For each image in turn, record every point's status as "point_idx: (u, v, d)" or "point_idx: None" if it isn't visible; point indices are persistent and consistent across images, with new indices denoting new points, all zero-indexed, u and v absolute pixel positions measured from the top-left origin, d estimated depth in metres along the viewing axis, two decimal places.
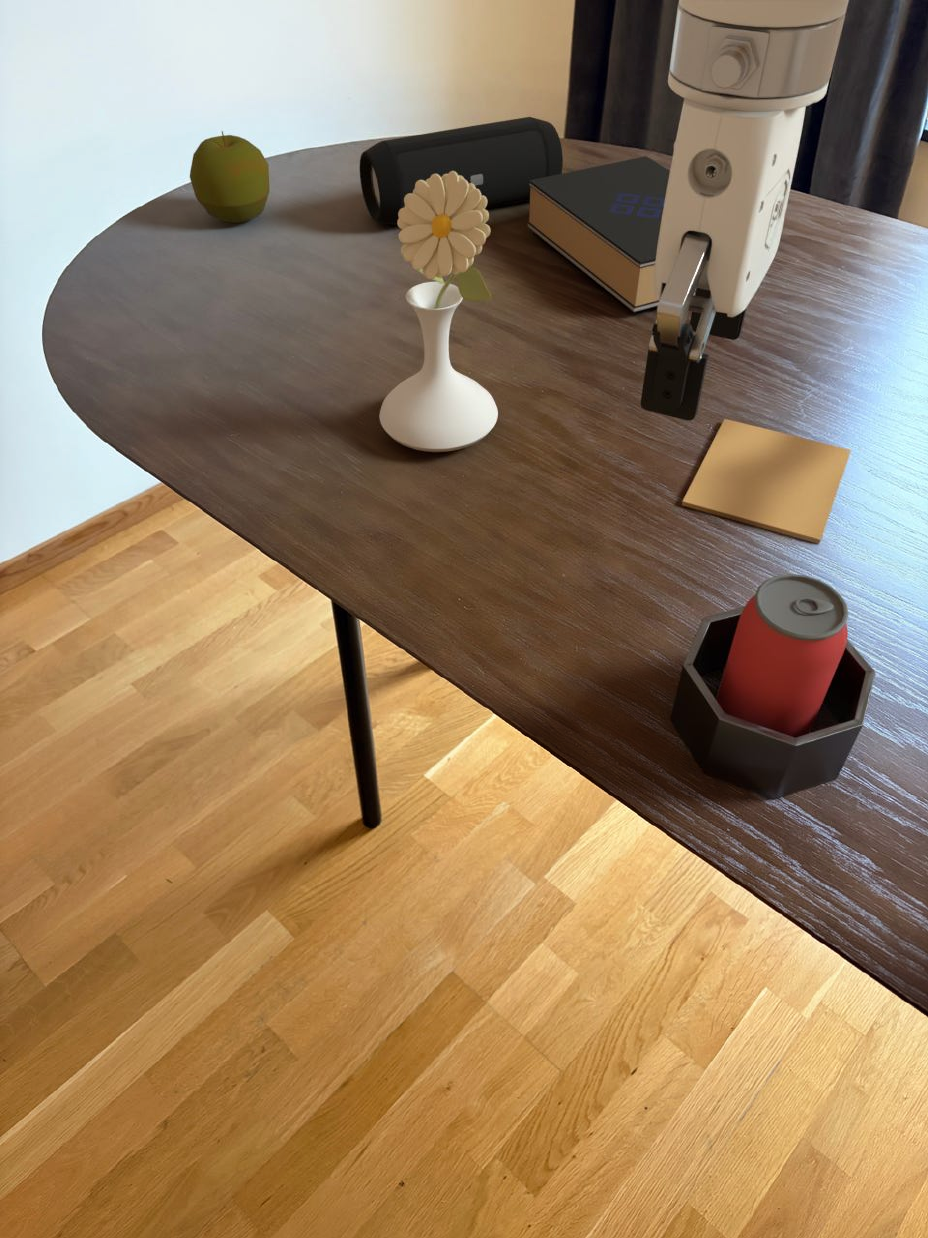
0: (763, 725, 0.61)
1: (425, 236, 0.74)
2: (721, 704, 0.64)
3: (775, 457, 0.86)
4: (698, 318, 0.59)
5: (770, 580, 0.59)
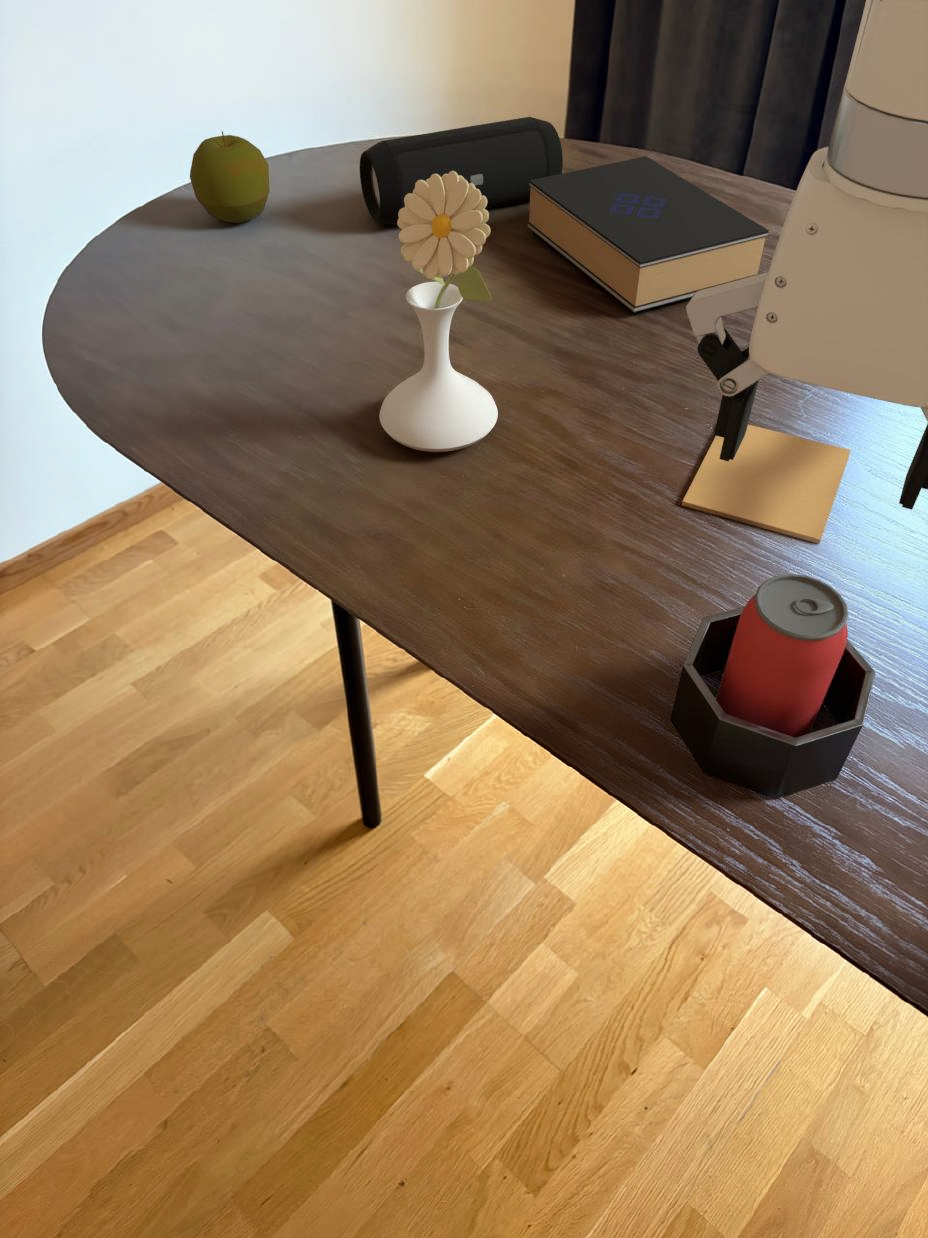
0: (763, 725, 0.61)
1: (425, 236, 0.74)
2: (721, 704, 0.64)
3: (775, 457, 0.86)
4: (737, 444, 0.52)
5: (770, 580, 0.59)
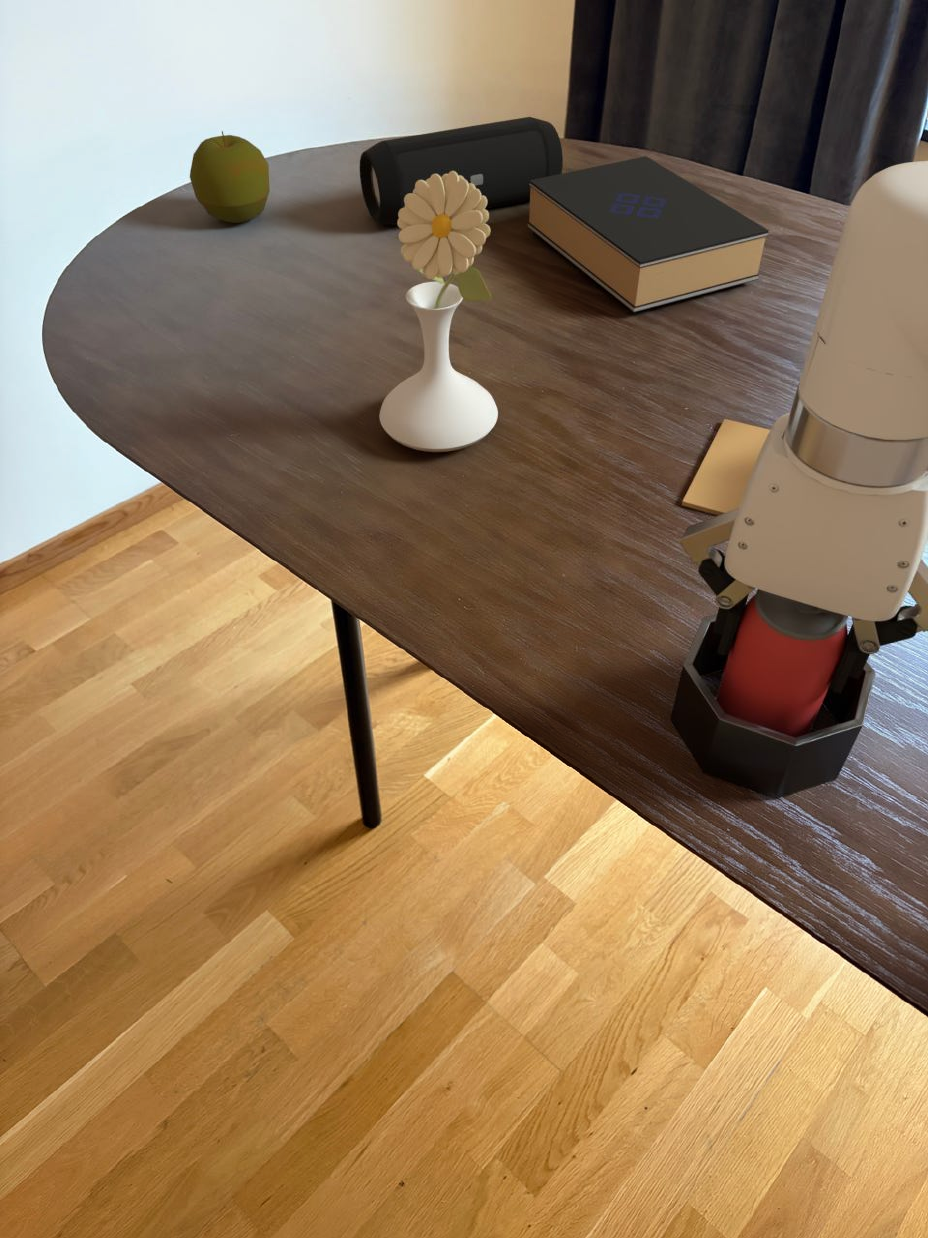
0: (763, 725, 0.61)
1: (425, 236, 0.74)
2: (721, 704, 0.64)
3: None
4: (732, 643, 0.61)
5: None
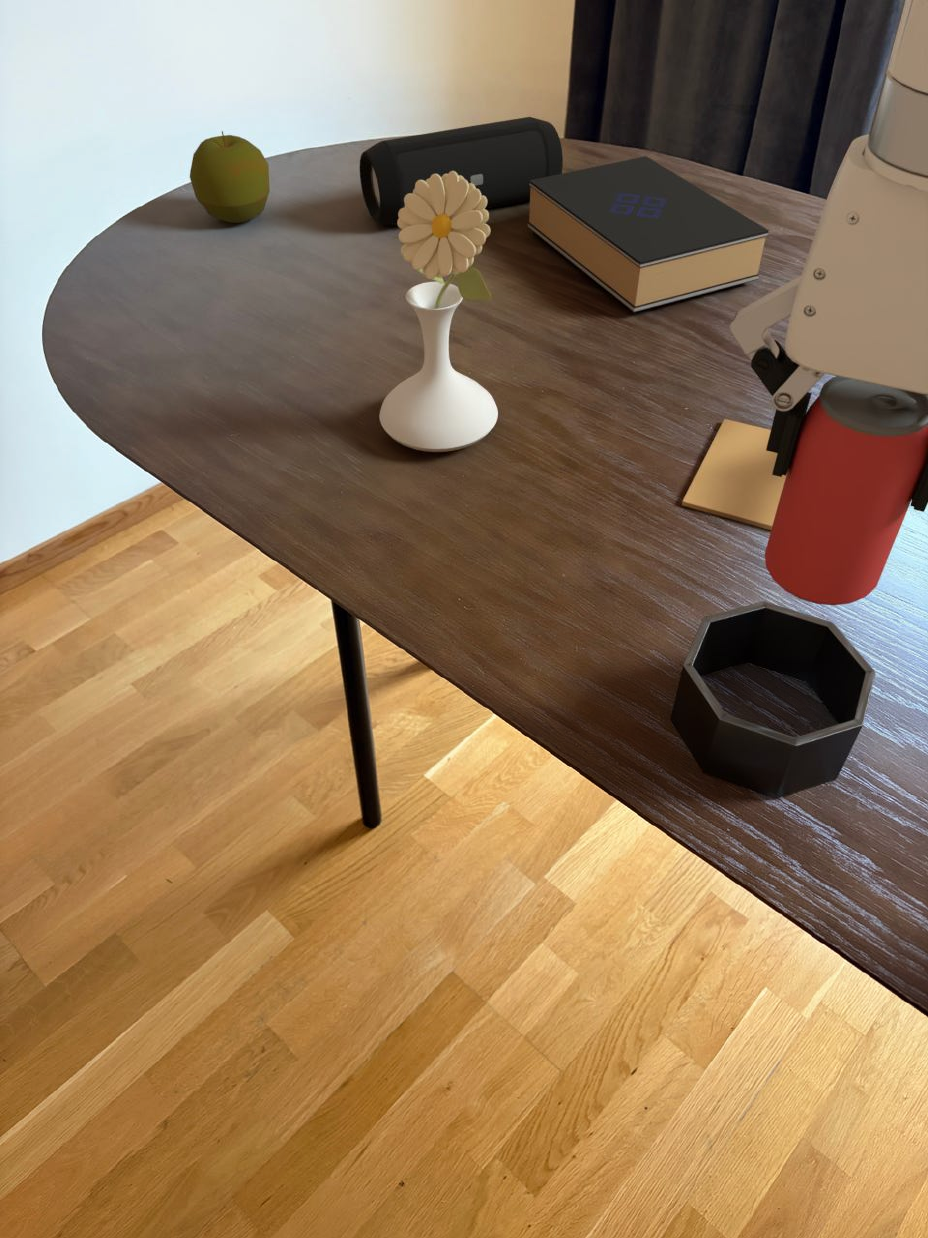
0: (828, 559, 0.51)
1: (425, 236, 0.74)
2: (775, 544, 0.54)
3: (775, 457, 0.86)
4: (790, 460, 0.51)
5: (837, 377, 0.49)
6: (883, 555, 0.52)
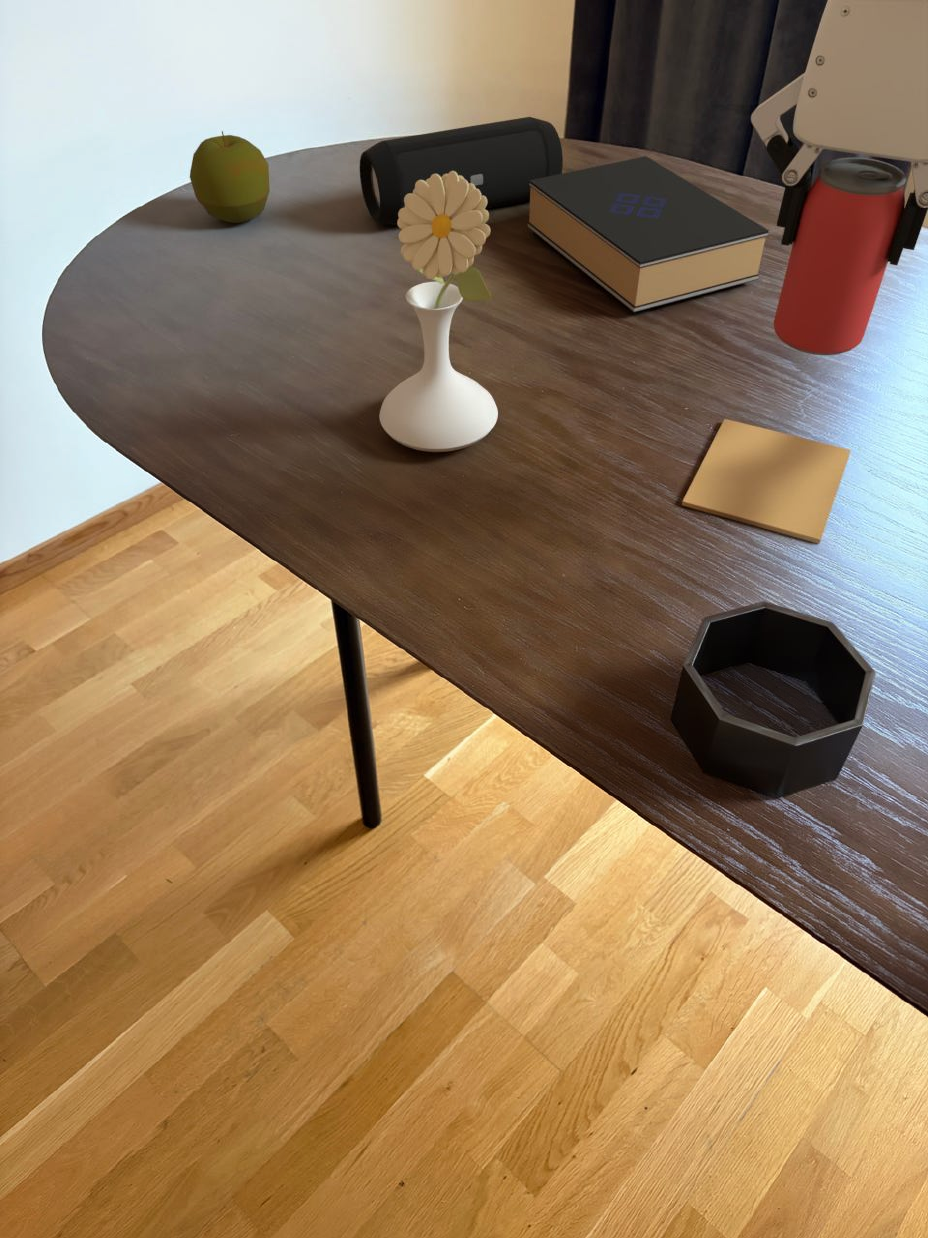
0: (824, 309, 0.66)
1: (425, 236, 0.74)
2: (782, 306, 0.69)
3: (775, 457, 0.86)
4: (795, 230, 0.65)
5: (832, 160, 0.64)
6: (866, 308, 0.66)
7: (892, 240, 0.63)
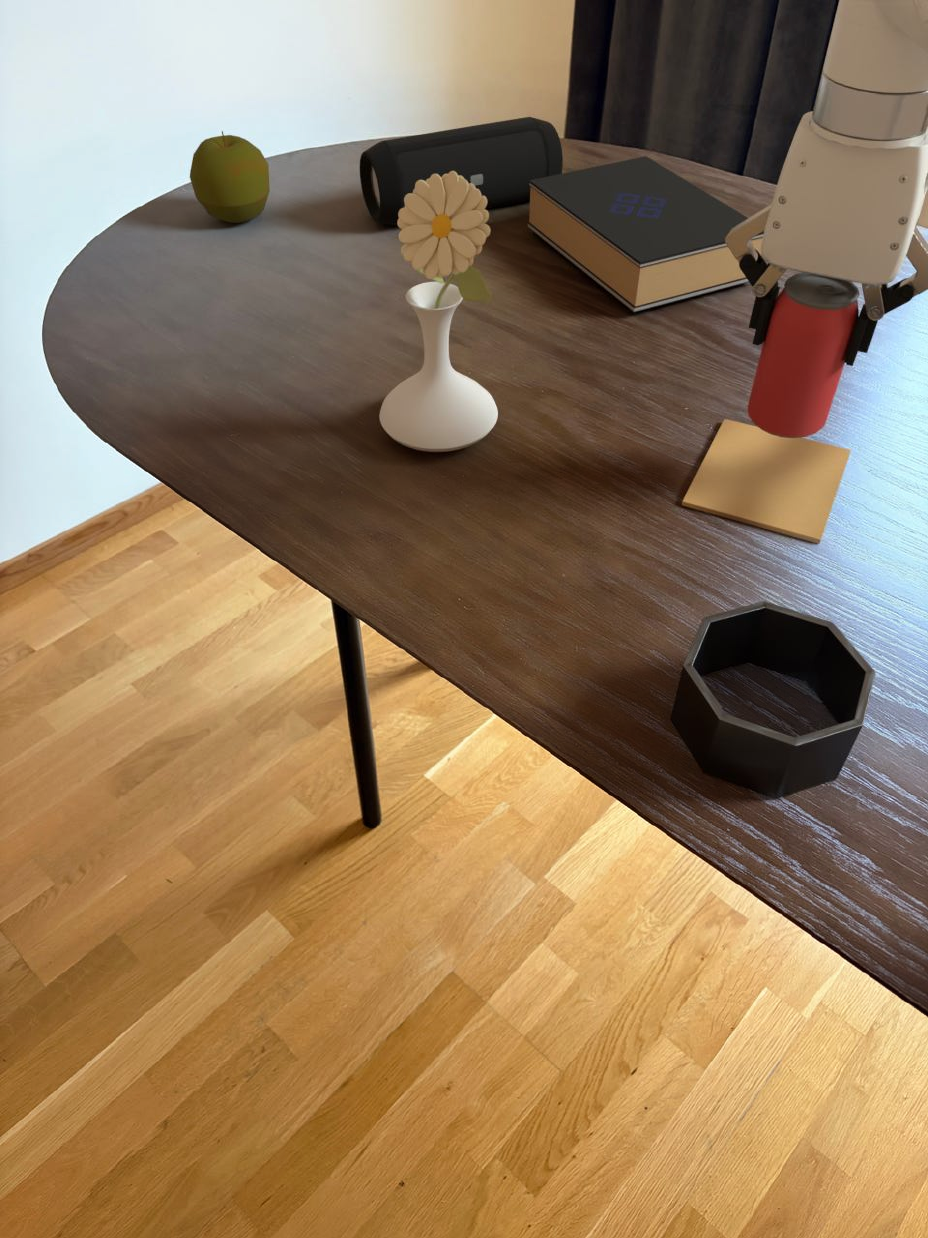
0: (790, 401, 0.76)
1: (425, 236, 0.74)
2: (755, 395, 0.78)
3: (775, 457, 0.86)
4: (764, 333, 0.75)
5: (796, 274, 0.73)
6: (827, 399, 0.76)
7: (848, 344, 0.73)
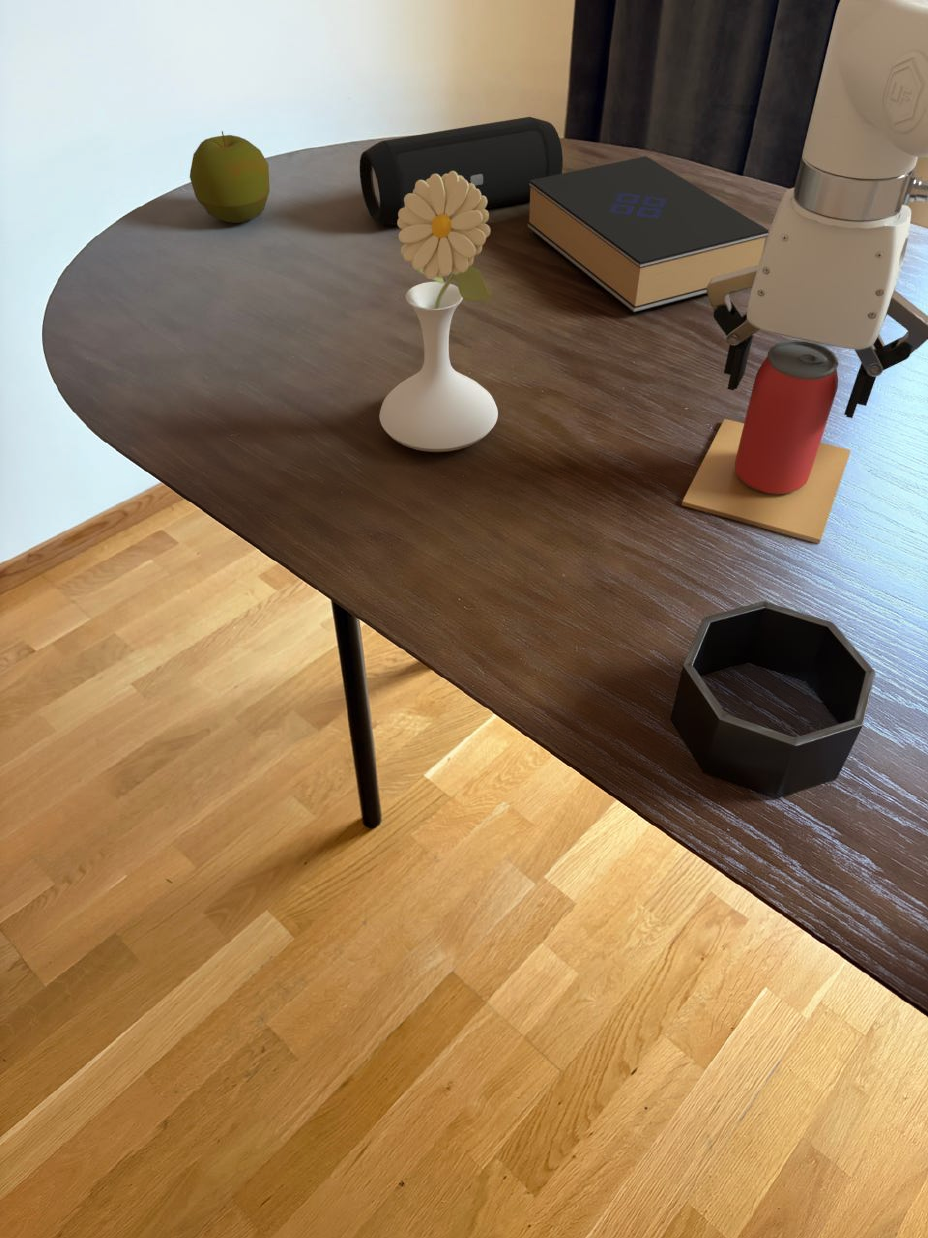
0: (774, 461, 0.80)
1: (425, 236, 0.74)
2: (741, 453, 0.82)
3: None
4: (739, 378, 0.79)
5: (779, 343, 0.77)
6: (809, 459, 0.80)
7: (828, 410, 0.77)
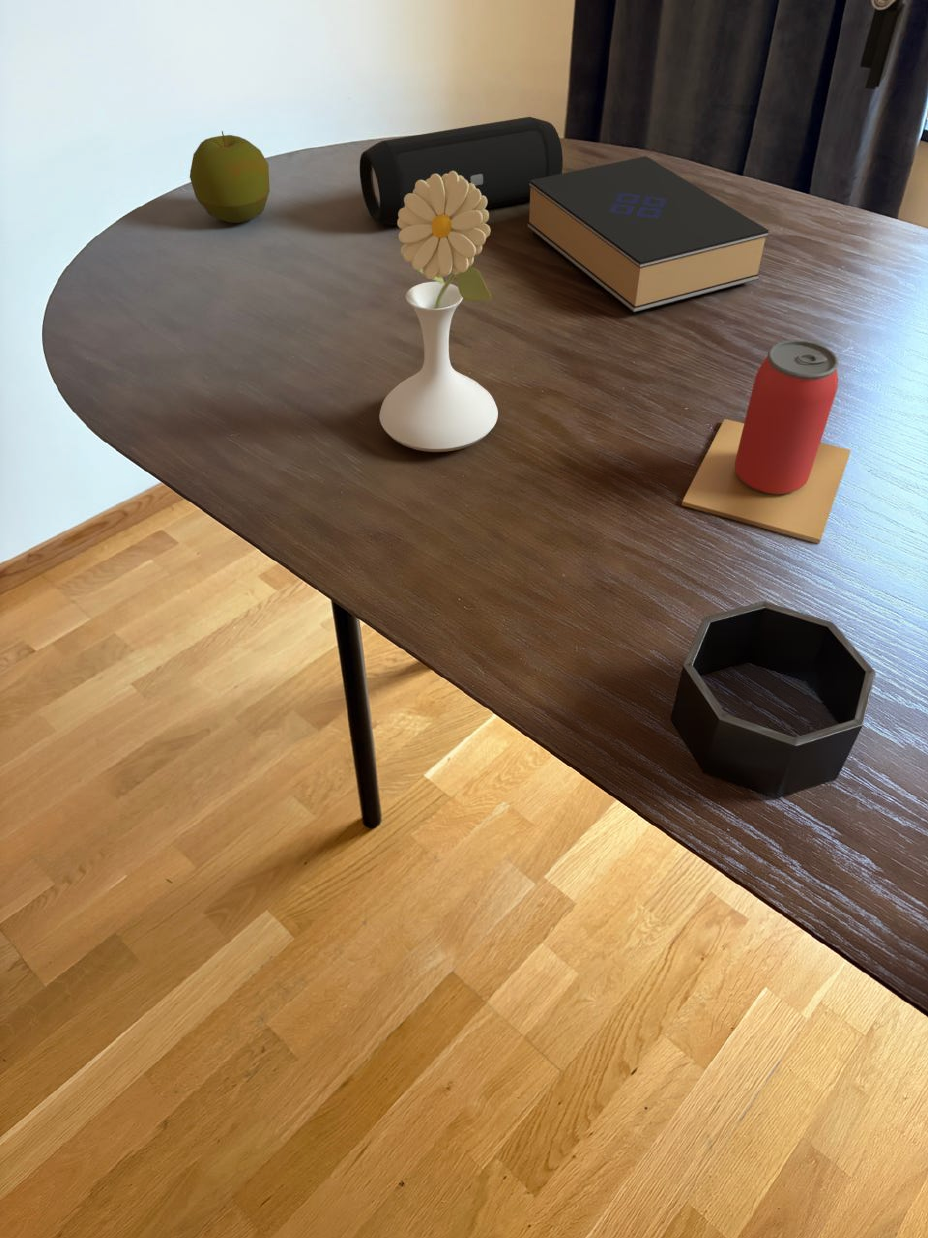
0: (774, 461, 0.80)
1: (425, 236, 0.74)
2: (741, 453, 0.82)
3: None
4: (883, 69, 0.55)
5: (779, 343, 0.77)
6: (809, 459, 0.80)
7: (828, 410, 0.77)
